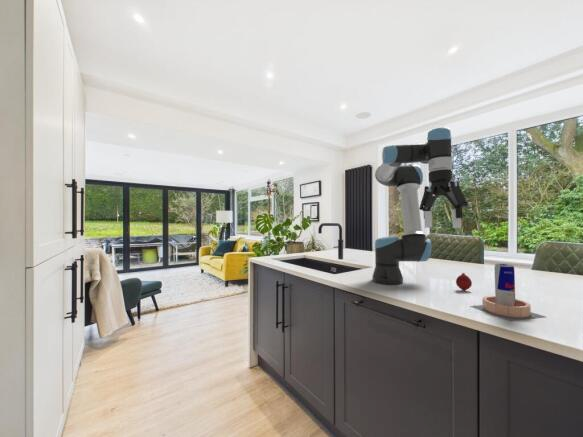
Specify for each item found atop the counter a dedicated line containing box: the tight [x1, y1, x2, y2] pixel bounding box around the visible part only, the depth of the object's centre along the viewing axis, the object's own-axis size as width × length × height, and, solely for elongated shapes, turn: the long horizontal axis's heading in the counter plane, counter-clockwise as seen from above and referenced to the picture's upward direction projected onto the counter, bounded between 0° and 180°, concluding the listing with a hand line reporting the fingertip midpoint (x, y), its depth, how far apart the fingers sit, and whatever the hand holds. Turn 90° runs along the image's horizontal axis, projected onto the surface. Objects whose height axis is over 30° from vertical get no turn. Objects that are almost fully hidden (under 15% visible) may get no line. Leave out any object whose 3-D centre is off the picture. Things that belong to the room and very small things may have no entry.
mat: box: [469, 304, 547, 322], centre depth 84 cm, size 14×14×1 cm
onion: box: [455, 272, 473, 292], centre depth 112 cm, size 6×6×8 cm
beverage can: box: [494, 263, 516, 306], centre depth 84 cm, size 5×5×15 cm
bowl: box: [482, 295, 532, 318], centre depth 84 cm, size 12×12×3 cm
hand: (441, 227), depth 93 cm, fingers open, 13 cm apart
